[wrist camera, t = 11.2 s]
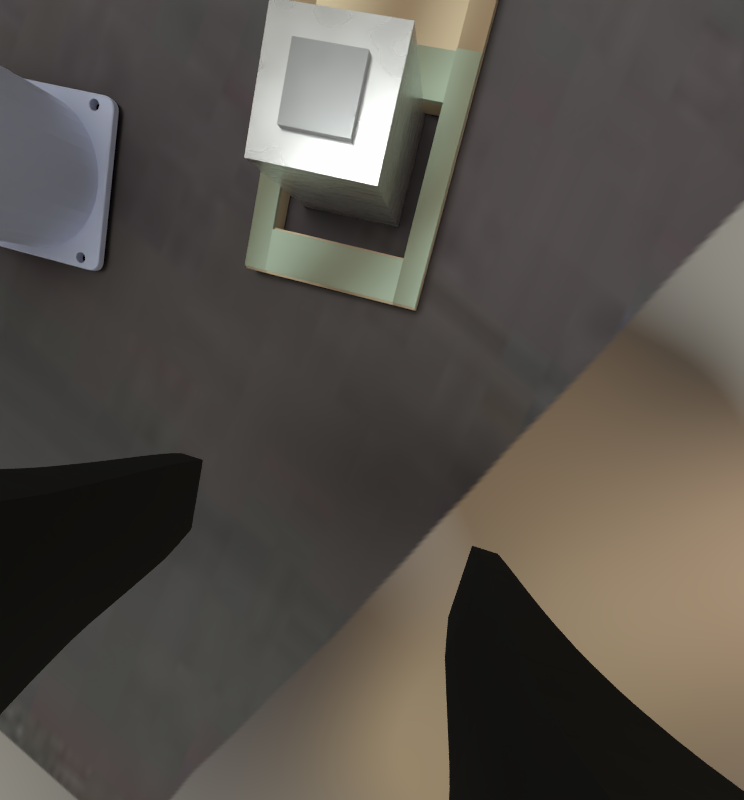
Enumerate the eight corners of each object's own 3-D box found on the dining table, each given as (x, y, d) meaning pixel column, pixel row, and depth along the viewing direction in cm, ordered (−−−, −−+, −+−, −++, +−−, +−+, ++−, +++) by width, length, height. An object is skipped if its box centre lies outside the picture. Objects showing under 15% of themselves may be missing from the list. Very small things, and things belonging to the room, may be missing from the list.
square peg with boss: (304, 206, 19) (240, 153, 13) (325, 99, 18) (265, -11, 12) (398, 227, 19) (375, 182, 13) (424, 118, 18) (413, 13, 12)
